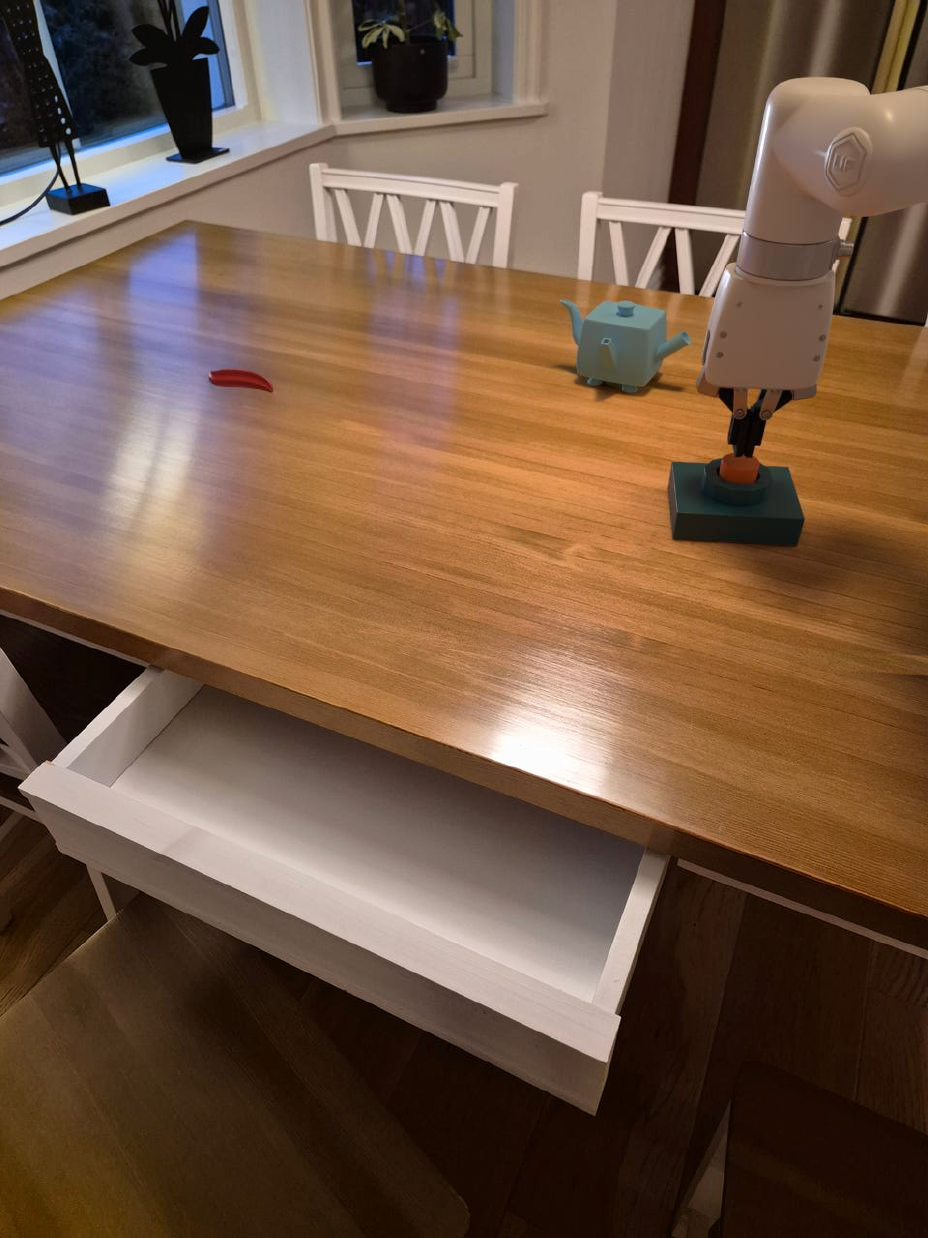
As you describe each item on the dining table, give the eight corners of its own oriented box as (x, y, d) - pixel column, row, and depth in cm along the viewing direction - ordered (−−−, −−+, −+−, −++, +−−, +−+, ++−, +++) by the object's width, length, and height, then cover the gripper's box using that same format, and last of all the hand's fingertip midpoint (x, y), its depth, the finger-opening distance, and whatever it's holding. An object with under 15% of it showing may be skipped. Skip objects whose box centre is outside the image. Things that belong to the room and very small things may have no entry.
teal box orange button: (781, 492, 89) (792, 451, 86) (797, 546, 81) (809, 502, 78) (667, 487, 90) (673, 445, 87) (672, 539, 83) (679, 496, 80)
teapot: (696, 372, 113) (709, 297, 106) (664, 415, 103) (675, 335, 97) (573, 350, 120) (578, 278, 113) (532, 388, 110) (535, 312, 104)
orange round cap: (753, 468, 84) (757, 453, 83) (758, 486, 81) (762, 471, 80) (717, 466, 85) (720, 451, 83) (720, 485, 82) (723, 469, 81)
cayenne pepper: (198, 377, 116) (195, 364, 114) (225, 366, 118) (222, 353, 117) (253, 400, 109) (250, 386, 108) (280, 388, 112) (278, 374, 111)
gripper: (867, 242, 71) (814, 436, 83) (690, 239, 73) (662, 429, 85) (889, 271, 66) (828, 474, 78) (696, 267, 68) (665, 466, 79)
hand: (741, 450), depth 81 cm, fingers closed
